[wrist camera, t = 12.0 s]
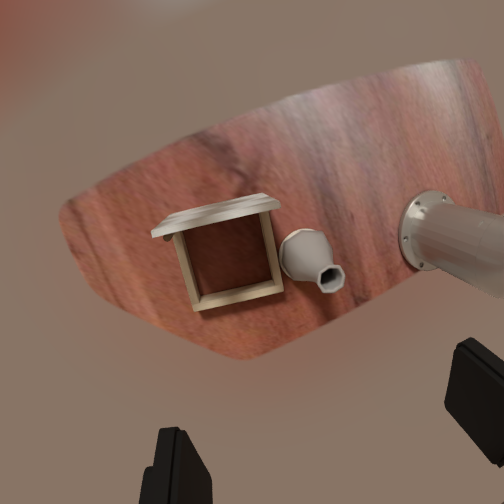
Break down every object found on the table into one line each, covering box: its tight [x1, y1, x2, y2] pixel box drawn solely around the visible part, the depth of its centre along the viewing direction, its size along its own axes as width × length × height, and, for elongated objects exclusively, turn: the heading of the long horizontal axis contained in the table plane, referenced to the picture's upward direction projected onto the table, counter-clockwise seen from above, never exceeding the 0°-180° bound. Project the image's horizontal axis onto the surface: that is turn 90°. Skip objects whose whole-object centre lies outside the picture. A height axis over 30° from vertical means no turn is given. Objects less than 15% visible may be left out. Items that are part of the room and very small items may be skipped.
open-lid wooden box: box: [151, 193, 284, 312], centre depth 35 cm, size 12×13×12 cm
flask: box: [282, 230, 345, 293], centre depth 37 cm, size 7×7×10 cm
